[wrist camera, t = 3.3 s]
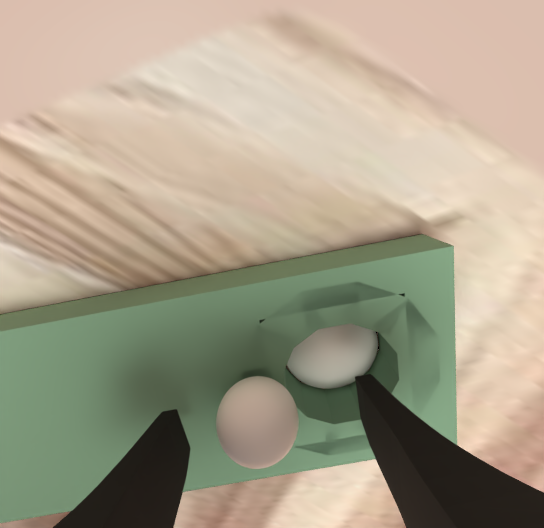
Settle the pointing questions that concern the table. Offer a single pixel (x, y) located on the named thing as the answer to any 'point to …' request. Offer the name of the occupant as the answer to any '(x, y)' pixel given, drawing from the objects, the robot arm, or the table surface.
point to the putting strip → (223, 366)
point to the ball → (257, 422)
